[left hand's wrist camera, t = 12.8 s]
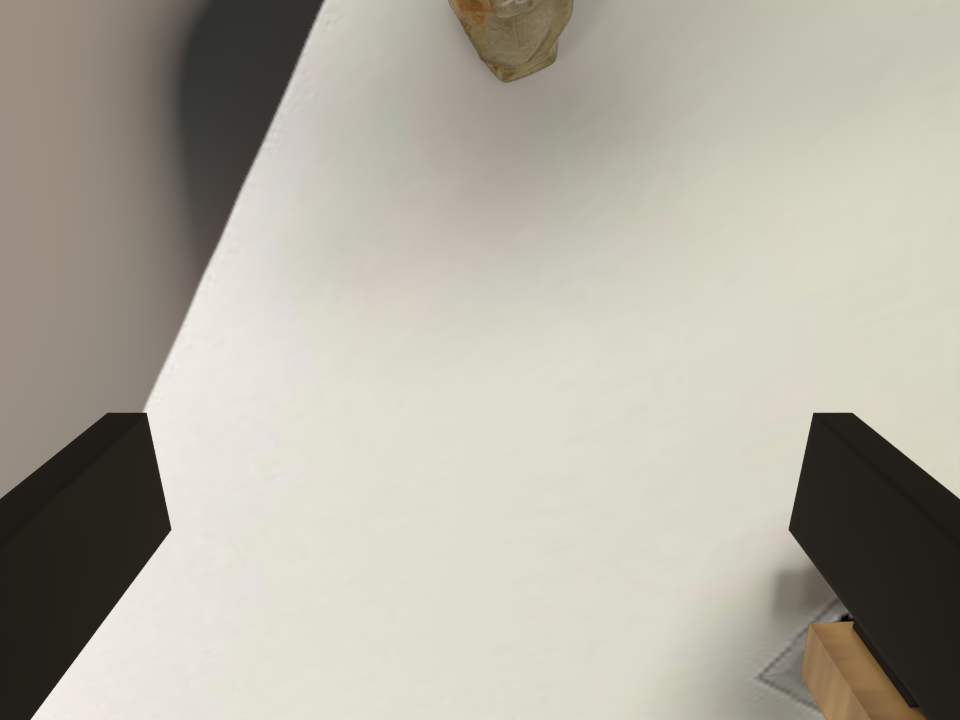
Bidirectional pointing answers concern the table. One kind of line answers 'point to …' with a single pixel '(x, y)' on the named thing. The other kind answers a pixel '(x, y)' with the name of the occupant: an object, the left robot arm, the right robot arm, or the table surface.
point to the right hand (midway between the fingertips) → (865, 653)
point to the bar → (849, 677)
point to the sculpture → (514, 32)
